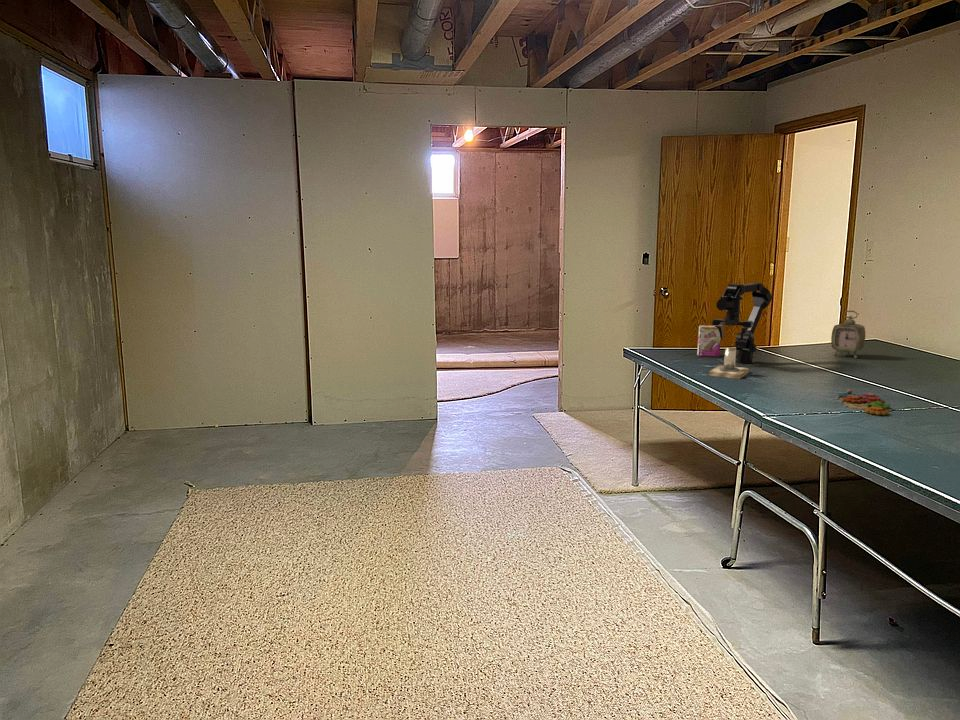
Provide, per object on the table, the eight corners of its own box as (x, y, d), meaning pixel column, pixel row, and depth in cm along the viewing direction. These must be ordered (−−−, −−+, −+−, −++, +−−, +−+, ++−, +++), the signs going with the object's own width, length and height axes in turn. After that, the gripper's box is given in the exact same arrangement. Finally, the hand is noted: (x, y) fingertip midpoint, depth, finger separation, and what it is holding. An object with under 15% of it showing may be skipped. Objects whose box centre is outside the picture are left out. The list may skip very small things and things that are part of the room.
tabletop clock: (829, 356, 377) (833, 310, 372) (836, 353, 383) (840, 308, 378) (858, 359, 366) (862, 312, 362) (864, 357, 372) (869, 311, 368)
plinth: (748, 372, 335) (748, 367, 334) (739, 379, 320) (740, 373, 320) (718, 369, 342) (719, 364, 342) (708, 375, 328) (709, 370, 327)
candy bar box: (698, 356, 376) (700, 326, 373) (696, 355, 381) (698, 325, 378) (719, 356, 375) (721, 326, 372) (717, 355, 380) (719, 325, 377)
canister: (727, 367, 334) (728, 346, 332) (736, 368, 331) (738, 348, 329) (721, 368, 331) (723, 348, 329) (731, 370, 327) (732, 349, 326)
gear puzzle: (900, 418, 255) (901, 408, 254) (852, 416, 259) (853, 405, 258) (876, 399, 284) (877, 389, 283) (833, 396, 288) (834, 387, 288)
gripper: (710, 309, 344) (708, 340, 347) (749, 312, 334) (747, 344, 337) (716, 307, 354) (714, 337, 357) (754, 309, 344) (752, 340, 346)
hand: (731, 340), depth 349 cm, fingers open, 9 cm apart
